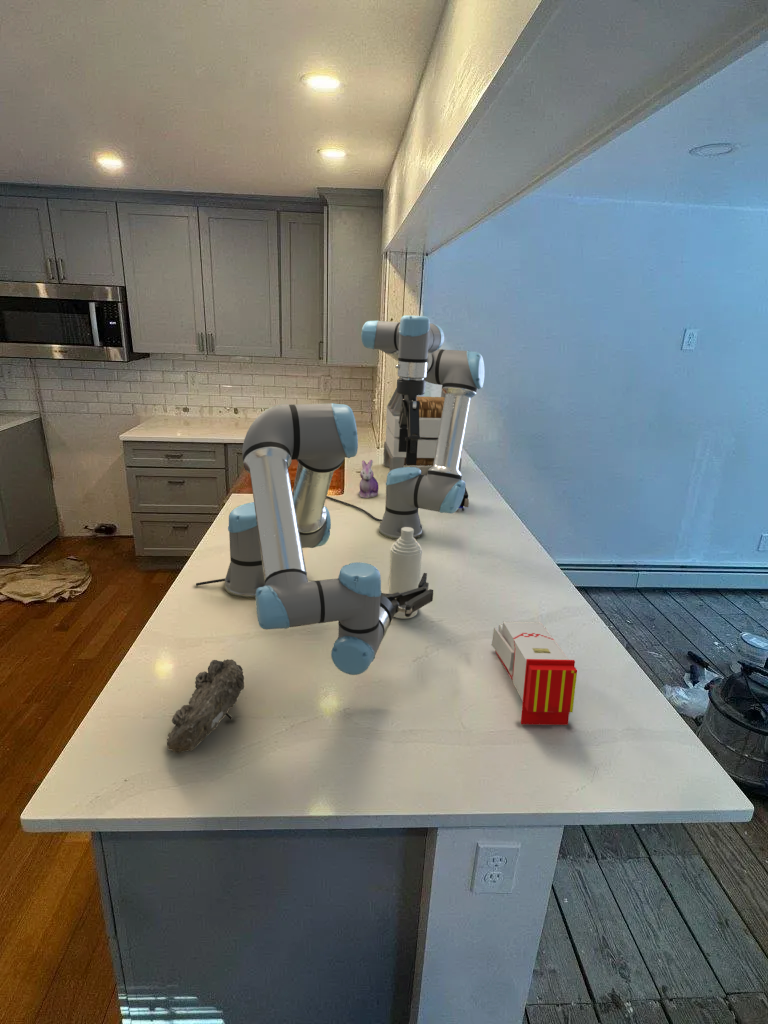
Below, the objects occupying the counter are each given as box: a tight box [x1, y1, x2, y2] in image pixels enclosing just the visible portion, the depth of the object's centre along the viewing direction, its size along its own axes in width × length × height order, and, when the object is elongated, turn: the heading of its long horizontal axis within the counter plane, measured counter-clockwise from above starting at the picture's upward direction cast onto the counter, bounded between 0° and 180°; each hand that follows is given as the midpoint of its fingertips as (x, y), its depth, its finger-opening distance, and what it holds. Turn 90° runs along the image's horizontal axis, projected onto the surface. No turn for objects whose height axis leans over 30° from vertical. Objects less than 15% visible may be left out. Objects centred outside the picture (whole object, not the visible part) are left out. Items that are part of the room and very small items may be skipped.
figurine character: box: [458, 486, 470, 512], centre depth 229 cm, size 7×8×15 cm
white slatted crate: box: [383, 387, 463, 474], centre depth 268 cm, size 34×33×41 cm
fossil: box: [166, 658, 245, 754], centre depth 106 cm, size 22×10×15 cm
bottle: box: [387, 527, 423, 620], centre depth 145 cm, size 8×8×23 cm
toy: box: [491, 621, 578, 726], centre depth 121 cm, size 12×13×30 cm
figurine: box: [358, 459, 380, 499], centre depth 237 cm, size 9×10×15 cm
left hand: (396, 573), depth 135 cm, fingers open, 13 cm apart
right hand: (406, 457), depth 154 cm, fingers open, 13 cm apart
